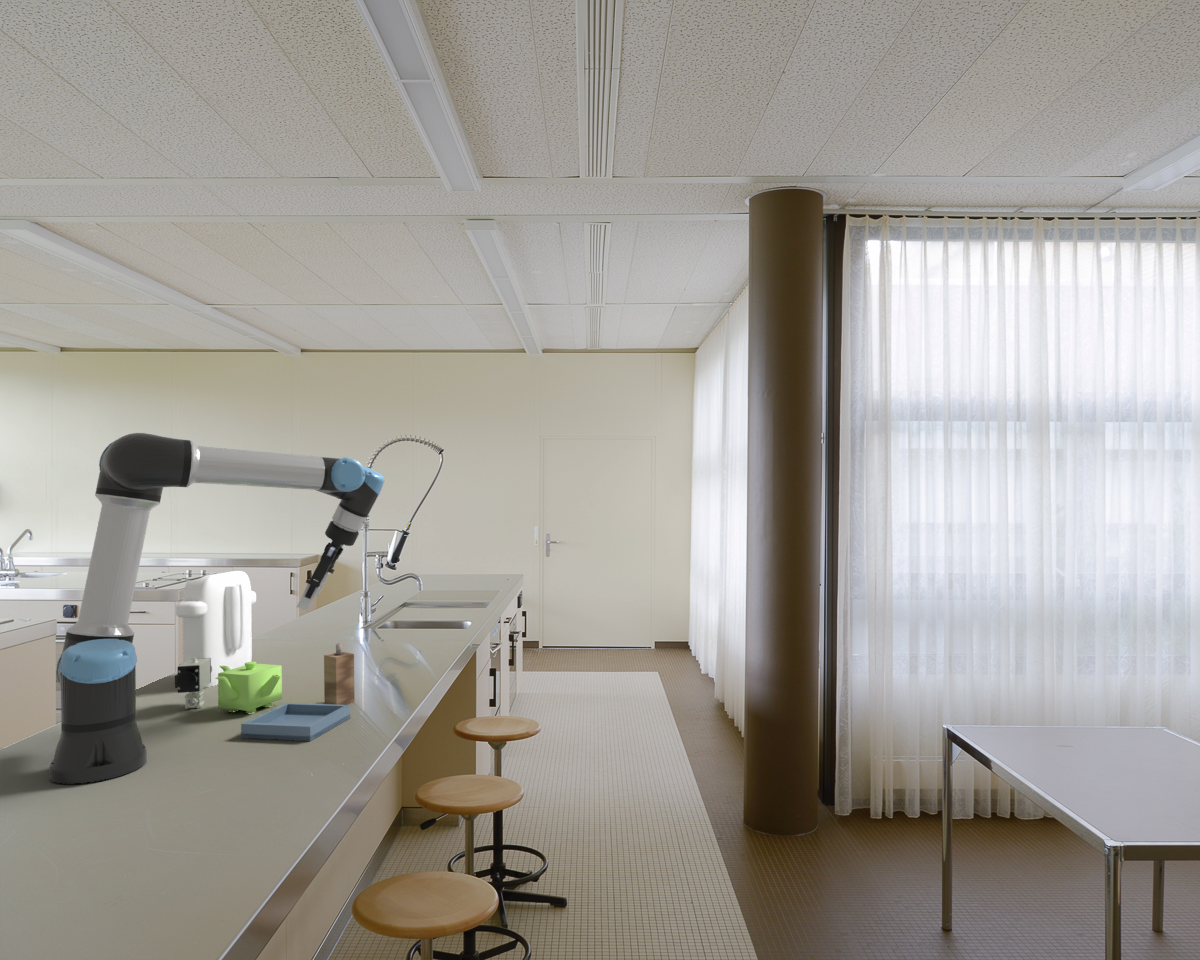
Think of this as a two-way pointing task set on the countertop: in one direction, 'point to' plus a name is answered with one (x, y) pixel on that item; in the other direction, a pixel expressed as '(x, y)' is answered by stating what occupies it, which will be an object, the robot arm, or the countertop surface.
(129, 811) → the countertop surface
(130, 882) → the countertop surface
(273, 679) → the kettle
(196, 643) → the toaster
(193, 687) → the pneumatic valve
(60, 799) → the countertop surface
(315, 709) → the tray
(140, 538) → the robot arm
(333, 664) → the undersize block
